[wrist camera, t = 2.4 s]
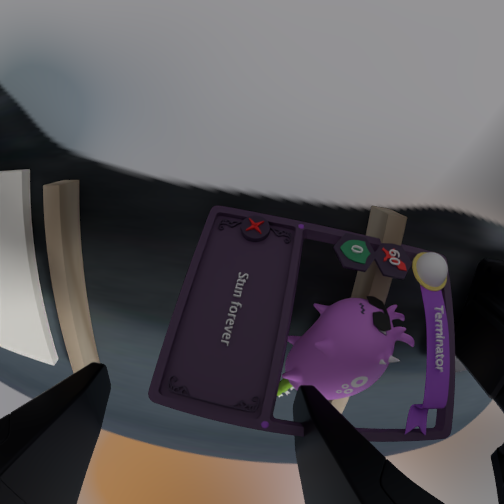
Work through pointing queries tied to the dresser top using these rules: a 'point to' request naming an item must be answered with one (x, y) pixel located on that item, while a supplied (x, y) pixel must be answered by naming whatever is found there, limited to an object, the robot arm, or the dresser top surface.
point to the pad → (21, 274)
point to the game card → (278, 324)
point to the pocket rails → (73, 282)
